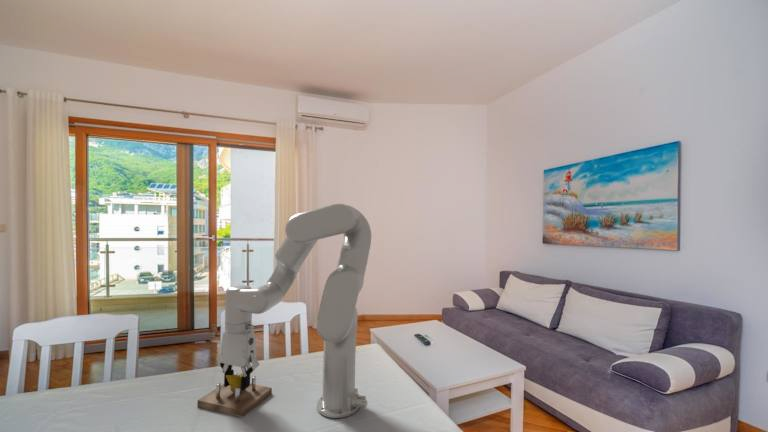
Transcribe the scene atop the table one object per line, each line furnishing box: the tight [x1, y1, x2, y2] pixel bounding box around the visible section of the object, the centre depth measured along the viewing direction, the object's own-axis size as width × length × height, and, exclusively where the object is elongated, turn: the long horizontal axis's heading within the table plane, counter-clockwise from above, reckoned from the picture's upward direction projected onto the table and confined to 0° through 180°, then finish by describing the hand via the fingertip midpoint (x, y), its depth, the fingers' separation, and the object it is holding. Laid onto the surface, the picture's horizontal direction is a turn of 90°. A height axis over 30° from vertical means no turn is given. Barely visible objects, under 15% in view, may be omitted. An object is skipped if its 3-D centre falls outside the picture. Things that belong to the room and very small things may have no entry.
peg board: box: [196, 372, 273, 418], centre depth 98 cm, size 16×13×6 cm
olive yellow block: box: [225, 373, 243, 393], centre depth 98 cm, size 5×5×10 cm
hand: (237, 385), depth 98 cm, fingers closed on olive yellow block, 5 cm apart
